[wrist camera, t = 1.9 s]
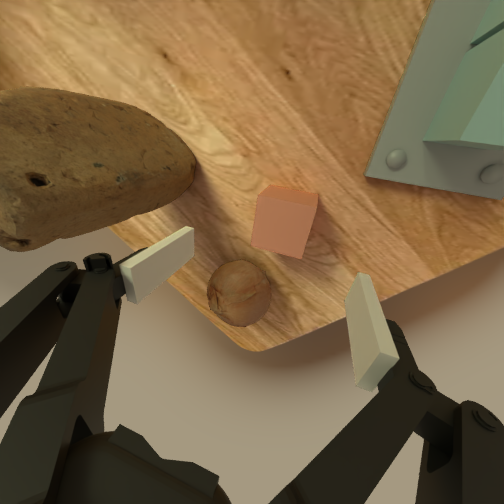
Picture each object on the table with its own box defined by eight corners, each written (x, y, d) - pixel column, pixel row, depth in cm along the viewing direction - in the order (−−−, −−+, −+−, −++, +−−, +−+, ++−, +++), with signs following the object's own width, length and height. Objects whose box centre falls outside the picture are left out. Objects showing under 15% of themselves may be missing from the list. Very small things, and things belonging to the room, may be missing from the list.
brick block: (270, 184, 26) (258, 194, 21) (318, 194, 25) (317, 207, 20) (263, 227, 29) (250, 245, 24) (305, 238, 28) (301, 259, 23)
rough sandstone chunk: (210, 171, 27) (27, 218, 10) (179, 203, 31) (8, 276, 14) (152, 97, 25) (-193, 6, 8) (127, 141, 29) (-146, 141, 12)
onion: (233, 262, 37) (183, 281, 30) (268, 244, 30) (214, 263, 23) (254, 311, 36) (208, 342, 29) (295, 304, 30) (247, 341, 23)
